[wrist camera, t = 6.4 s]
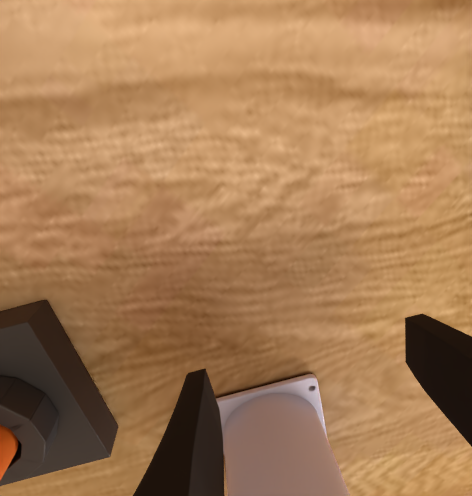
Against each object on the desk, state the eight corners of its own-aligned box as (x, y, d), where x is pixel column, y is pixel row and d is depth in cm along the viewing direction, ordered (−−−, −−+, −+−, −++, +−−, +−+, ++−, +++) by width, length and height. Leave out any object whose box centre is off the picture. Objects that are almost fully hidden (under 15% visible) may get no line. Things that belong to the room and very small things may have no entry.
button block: (118, 426, 22) (102, 487, 19) (-5, 458, 22) (-45, 526, 19) (46, 299, 18) (7, 345, 14) (-106, 338, 18) (-185, 395, 14)
